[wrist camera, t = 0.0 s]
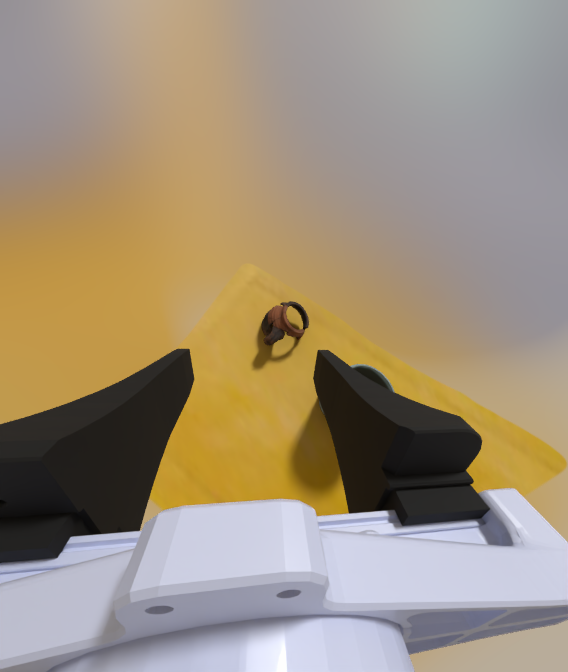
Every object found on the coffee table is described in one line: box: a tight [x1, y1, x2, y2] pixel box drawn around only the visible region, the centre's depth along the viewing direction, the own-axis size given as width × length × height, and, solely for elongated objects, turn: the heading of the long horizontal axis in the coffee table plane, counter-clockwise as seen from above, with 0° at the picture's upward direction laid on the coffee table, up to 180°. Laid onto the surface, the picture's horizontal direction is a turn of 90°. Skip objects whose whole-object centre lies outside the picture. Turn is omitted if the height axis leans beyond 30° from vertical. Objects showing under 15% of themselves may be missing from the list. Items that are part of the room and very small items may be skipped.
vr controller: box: [262, 301, 309, 345], centre depth 46 cm, size 12×10×8 cm
